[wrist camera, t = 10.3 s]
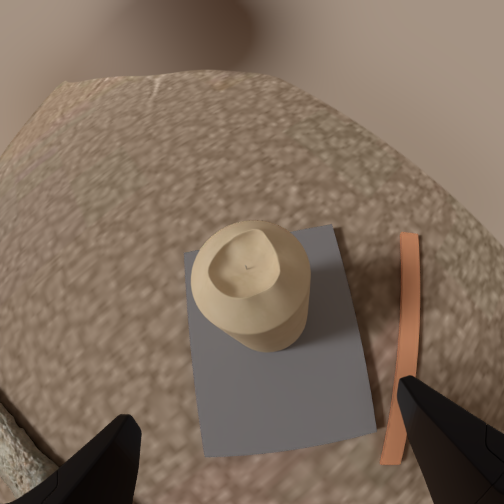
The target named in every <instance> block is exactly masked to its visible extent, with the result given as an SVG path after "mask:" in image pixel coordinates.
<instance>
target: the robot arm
mask: <svg viewBox="0 0 504 504" xmlns="http://www.w3.org/2000/svg"><path fill="white" fill-rule="evenodd" d="M397 401H398V405H399V408H400V412H401V415H402V418H403V422H404V425H405V429H406V433H407V436H408V439H409V442H410V444H411V447H412V449H413V451H414V454H415V456H416V459H417V461H418V464H419V466H420V469H421V471H422V474H423V476H424V479H425V481H426V484H427V487H428V489H429V492H430V495H431V497H432V500H433V503H434V504H504V434H503V433H502V432H500V431H498V430H497V429H495V428H493V427H492V426H490V425H489V424H487V425H486V423H485V422H484V421H482V420H481V419H479V418H477V417H476V416H474V415H473V414H471V413H470V412H468V411H466V410H465V409H463V408H462V407H460V406H459V405H457V404H456V403H454V402H452V401H451V400H449V399H448V398H446V397H445V396H443V395H442V394H440V393H439V392H437V391H435V390H434V389H432V388H431V387H429V386H428V385H426V384H425V383H423V382H422V381H420V380H419V379H417V378H415V377H414V376H412V375H408V376H405V377H402V378H400V379H399V382H398V389H397ZM141 435H142V433H141V429H140V427H139V426H138V424H137V423H136V421H135V420H134V418H133V417H132V416H131V415H129V414H120V415H118V416H117V417H116V418H115V419H114V420H113V421H112V422H111V423H109V424H108V425H107V426H106V427H105V428H104V429H103V430H102V431H101V432H99V433H98V434H97V435H96V436H95V437H94V438H93V439H92V440H90V441H89V442H88V443H87V444H86V445H85V446H84V447H82V448H81V449H80V450H79V451H78V452H77V453H76V454H74V455H73V456H72V457H71V458H70V459H69V460H68V461H66V462H65V463H64V464H63V465H62V466H61V467H59V468H58V470H56V471H55V472H54V473H52V474H51V475H50V476H49V477H48V478H46V479H45V480H44V481H43V482H41V483H40V484H38V485H37V486H36V487H34V488H33V489H31V490H30V491H28V492H27V493H25V494H24V495H22V496H21V497H19V498H18V499H16V500H14V501H13V502H10V503H6V504H132V502H133V496H134V491H135V485H136V480H137V475H138V469H139V458H140V446H141Z"/></svg>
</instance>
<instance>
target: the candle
mask: <svg viewBox="0 0 504 504" xmlns="http://www.w3.org/2000/svg"><path fill="white" fill-rule="evenodd" d="M310 280H311V270H310V263H309V259H308V256H307V254H306V252H305V249H304V248H303V246H302V245H301V243H300V242H299V241H298V239H297V238H296V237H295V236H294V235H293V234H291V233H290V232H289V231H287V230H286V229H284V228H282V227H281V226H279V225H276V224H273V223H270V222H266V221H258V220H251V221H242V222H238V223H234V224H232V225H229V226H227V227H225V228H223V229H221V230H220V231H218V232H217V233H215V234H214V235H213V236H212V237H210V238H209V239H208V240H207V241H206V243H205V244H204V245H203V246H202V248H201V249H200V251H199V253H198V254H197V256H196V259H195V261H194V264H193V267H192V273H191V289H192V294H193V297H194V300H195V302H196V305H197V306H198V308H199V310H200V311H201V313H202V314H203V315H204V316H205V317H206V318H207V319H208V320H209V321H210V322H211V323H213V324H214V325H215V326H217V327H218V328H220V329H221V330H223V331H224V332H225V333H227V334H228V335H230V336H231V337H233V338H234V339H236V340H237V341H239V342H240V343H242V344H243V345H245V346H246V347H248V348H250V349H252V350H255V351H259V352H276V351H280V350H282V349H285V348H286V347H288V346H290V345H291V344H293V343H294V342H295V341H296V340H297V339H298V338H299V336H300V335H301V333H302V332H303V330H304V328H305V325H306V321H307V315H308V305H309V293H310Z"/></svg>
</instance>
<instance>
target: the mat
mask: <svg viewBox="0 0 504 504" xmlns="http://www.w3.org/2000/svg"><path fill="white" fill-rule="evenodd" d="M290 233H291V234H293V235H294V236H295V237H296V238H297V239H298V241H299V242H300V243H301V245H302V246H303V248H304V249H305V252H306V254H307V256H308V259H309V263H310V270H311V280H310V293H309V305H308V315H307V321H306V325H305V328H304V330H303V332H302V333H301V335H300V336H299V338H298V339H297V340H296V341H295V342H294V343H293V344H291V345H290V346H288V347H286V348H285V349H282V350H280V351H276V352H259V351H255V350H252V349H250V348H248V347H246V346H245V345H243V344H242V343H240V342H239V341H237V340H236V339H234V338H233V337H231V336H230V335H228V334H227V333H225V332H224V331H223V330H221V329H220V328H218V327H217V326H215V325H214V324H213V323H211V322H210V321H209V320H208V319H207V318H206V317H205V316H204V315H203V314H202V313H201V311H200V310H199V308H198V306H197V305H196V302H195V300H194V297H193V294H192V289H191V273H192V267H193V264H194V261H195V259H196V256H197V254H198V253H199V251H200V250H196V251H191V252H186V253H184V263H185V281H186V297H187V311H188V323H189V335H190V346H191V356H192V366H193V375H194V383H195V392H196V400H197V408H198V415H199V422H200V429H201V436H202V443H203V449H204V455H205V457H225V456H241V455H253V454H263V453H272V452H280V451H288V450H294V449H301V448H307V447H312V446H318V445H323V444H328V443H333V442H337V441H342V440H346V439H351V438H355V437H359V436H363V435H366V434H370V433H374V432H377V429H376V422H375V415H374V408H373V402H372V396H371V390H370V384H369V379H368V373H367V368H366V363H365V357H364V352H363V347H362V343H361V338H360V333H359V328H358V324H357V319H356V315H355V311H354V306H353V302H352V298H351V294H350V290H349V286H348V282H347V278H346V274H345V270H344V266H343V262H342V259H341V255H340V251H339V248H338V244H337V241H336V237H335V233H334V230H333V227H332V224H330V225H325V226H320V227H314V228H309V229H304V230H298V231H293V232H290Z"/></svg>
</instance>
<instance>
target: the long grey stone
mask: <svg viewBox="0 0 504 504" xmlns="http://www.w3.org/2000/svg"><path fill="white" fill-rule="evenodd" d="M58 468H59V467H58V466H57V465H56V464H55V463H54V462H52V460H50V459H49V458H48V457H46V456H45V455H44V454H42V453H41V451H40V450H38V449H37V448H36V446H35V445H34V443H33V441H32V440H31V439H30V438H29V436H28V435H27V434H26V432H25V430H24V429H23V428H19V427H18V425H17V424H16V422H15V420H14V417H13V416H12V415H11V414H9V413H8V411H7V410H6V409H5V408H4V406H3V405H2V404H1V403H0V477H1V478H2V480H3V481H4V483H5V484H6V485H7V486H8V488H9V489H10V490H11V491H12V493H13V494H14V496H15V498H16V499H18V498H19V497H21V496H22V495H24V494H25V493H27V492H28V491H30V490H31V489H33V488H34V487H36V486H37V485H38V484H40V483H41V482H43V481H44V480H45V479H46V478H48V477H49V476H50V475H51V474H52V473H54V472H55V471H56V470H58Z"/></svg>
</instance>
